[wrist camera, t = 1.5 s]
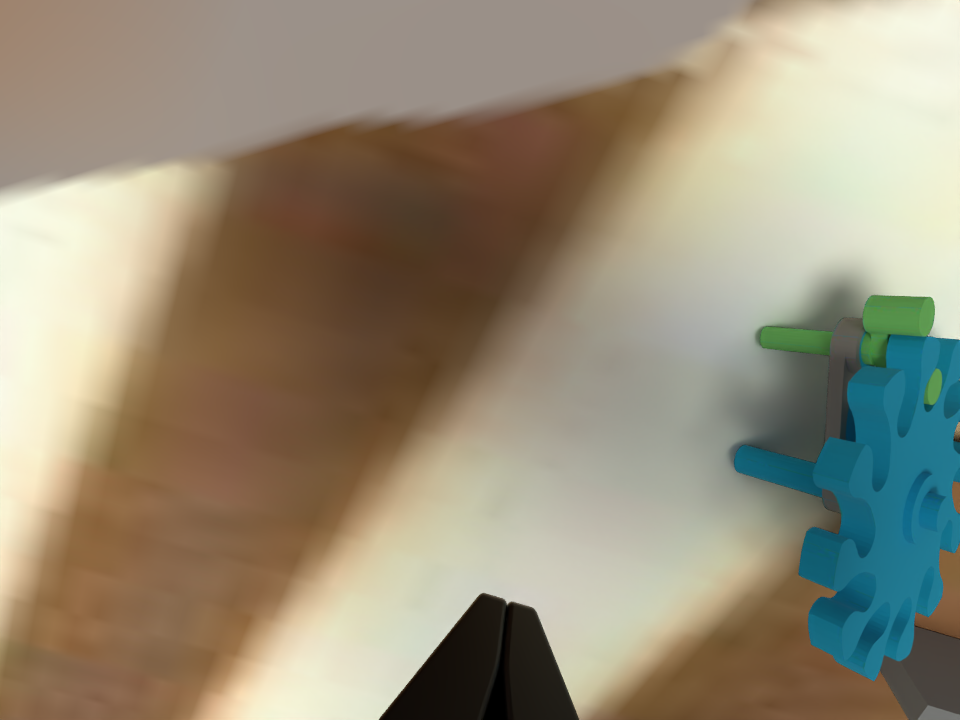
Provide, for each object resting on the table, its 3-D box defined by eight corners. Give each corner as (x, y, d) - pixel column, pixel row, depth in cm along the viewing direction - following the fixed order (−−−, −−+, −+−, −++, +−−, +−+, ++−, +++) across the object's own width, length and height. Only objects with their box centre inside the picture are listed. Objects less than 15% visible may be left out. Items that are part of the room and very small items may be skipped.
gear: (983, 603, 20) (851, 767, 14) (805, 539, 25) (653, 643, 19) (1021, 278, 18) (883, 321, 12) (817, 276, 22) (650, 307, 17)
